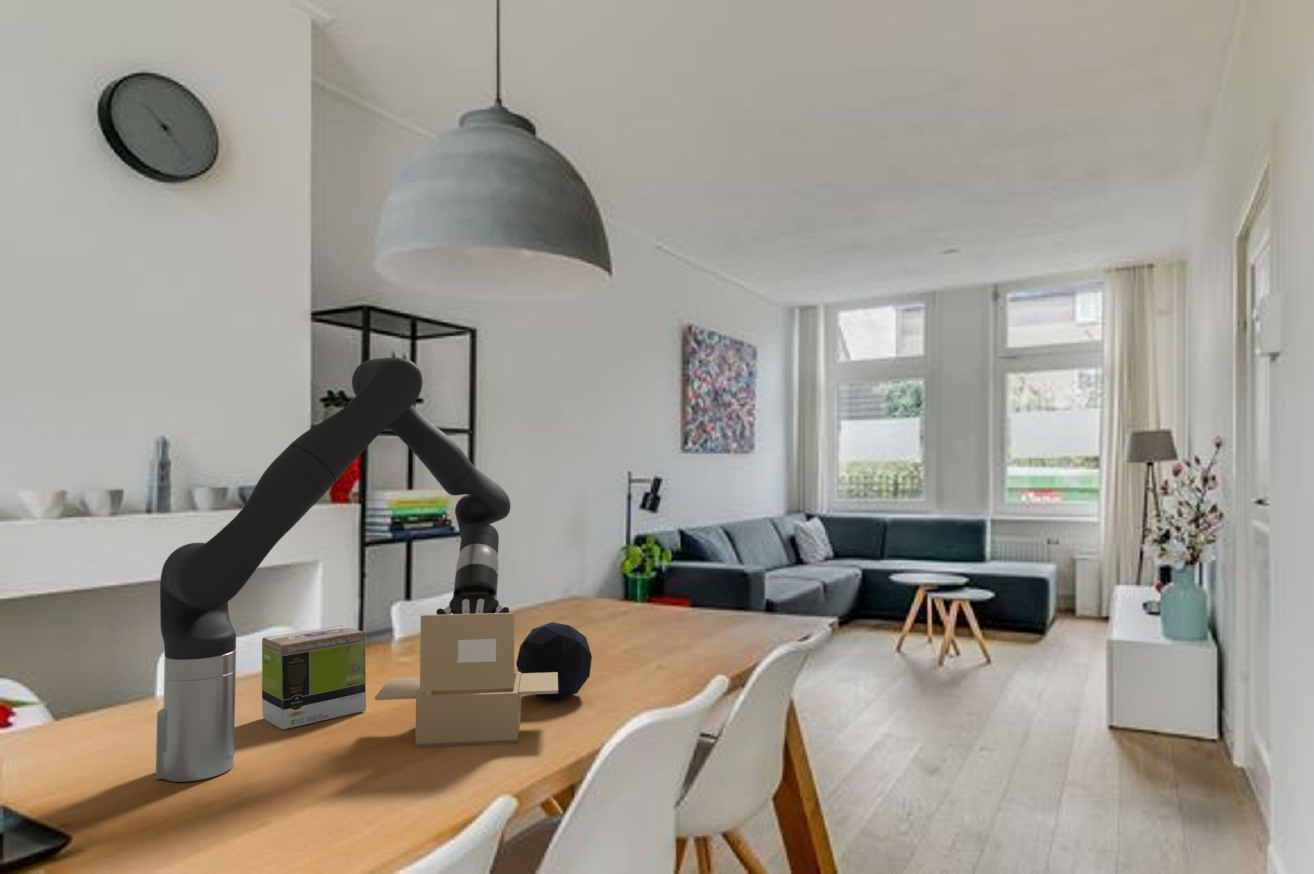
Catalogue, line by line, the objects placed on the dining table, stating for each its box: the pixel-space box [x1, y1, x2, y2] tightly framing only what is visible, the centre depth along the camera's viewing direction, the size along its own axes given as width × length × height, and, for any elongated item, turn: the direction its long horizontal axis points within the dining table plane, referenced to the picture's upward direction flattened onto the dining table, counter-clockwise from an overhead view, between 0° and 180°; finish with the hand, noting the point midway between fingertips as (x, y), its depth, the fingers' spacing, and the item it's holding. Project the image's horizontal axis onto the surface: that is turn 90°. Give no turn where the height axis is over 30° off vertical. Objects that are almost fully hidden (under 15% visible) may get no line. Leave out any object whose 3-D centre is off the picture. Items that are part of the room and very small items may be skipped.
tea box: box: [261, 625, 367, 730], centre depth 147 cm, size 15×10×15 cm
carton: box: [374, 671, 558, 749], centre depth 138 cm, size 29×15×8 cm, turn 97°
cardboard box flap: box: [419, 612, 516, 691], centre depth 131 cm, size 15×1×12 cm, turn 97°
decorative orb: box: [515, 621, 593, 702], centre depth 158 cm, size 14×15×15 cm
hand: (469, 658), depth 135 cm, fingers closed
